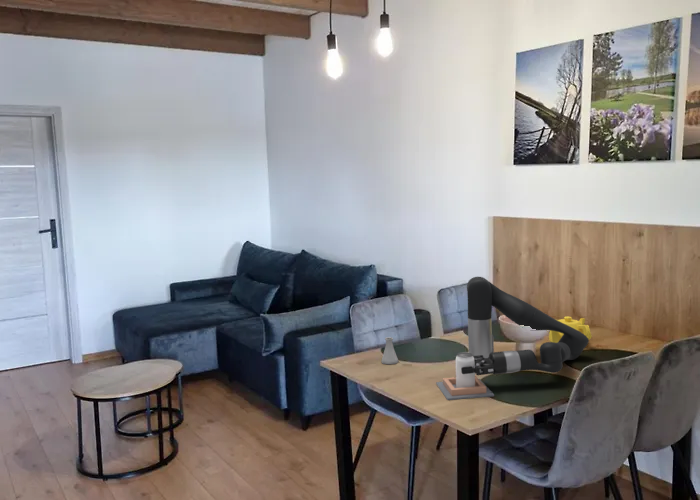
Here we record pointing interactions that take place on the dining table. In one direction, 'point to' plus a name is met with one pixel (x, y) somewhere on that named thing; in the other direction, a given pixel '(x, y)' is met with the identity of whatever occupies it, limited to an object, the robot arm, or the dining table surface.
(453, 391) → the tray
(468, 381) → the can
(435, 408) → the dining table surface
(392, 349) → the flask
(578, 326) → the teapot
